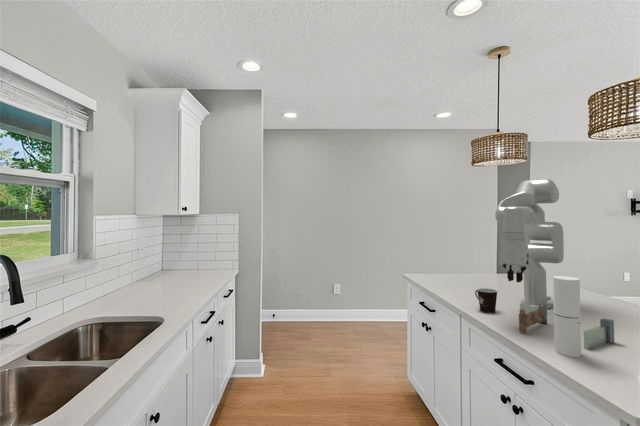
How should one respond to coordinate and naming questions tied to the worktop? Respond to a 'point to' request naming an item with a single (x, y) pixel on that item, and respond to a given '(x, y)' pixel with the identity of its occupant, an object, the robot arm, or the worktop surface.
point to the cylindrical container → (567, 315)
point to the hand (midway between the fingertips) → (515, 280)
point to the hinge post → (531, 309)
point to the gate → (529, 319)
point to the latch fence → (599, 334)
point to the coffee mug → (487, 299)
